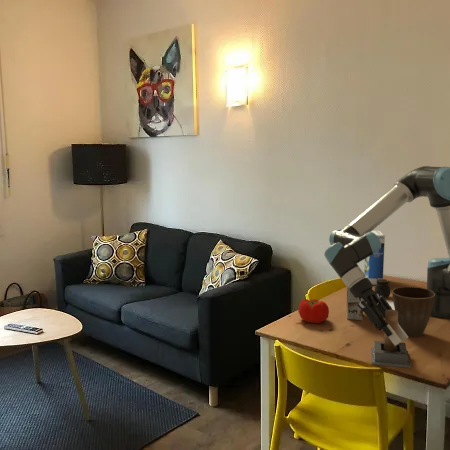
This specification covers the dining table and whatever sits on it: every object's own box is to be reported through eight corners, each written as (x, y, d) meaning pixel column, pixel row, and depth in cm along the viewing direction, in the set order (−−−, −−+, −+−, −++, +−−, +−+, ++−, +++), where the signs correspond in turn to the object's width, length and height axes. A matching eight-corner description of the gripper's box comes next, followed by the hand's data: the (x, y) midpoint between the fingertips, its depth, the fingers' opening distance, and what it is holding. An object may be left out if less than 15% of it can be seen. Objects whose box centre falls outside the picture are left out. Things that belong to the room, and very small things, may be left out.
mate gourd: (392, 299, 227) (393, 277, 226) (376, 299, 227) (376, 278, 226) (387, 294, 234) (388, 273, 233) (371, 294, 234) (372, 274, 233)
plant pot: (411, 343, 176) (412, 300, 173) (382, 330, 189) (383, 289, 187) (442, 336, 182) (444, 294, 179) (412, 323, 195) (413, 284, 193)
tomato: (335, 320, 201) (335, 300, 200) (317, 328, 192) (317, 307, 191) (309, 313, 210) (310, 293, 209) (291, 320, 201) (291, 300, 200)
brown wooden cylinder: (396, 350, 165) (397, 309, 163) (396, 354, 161) (398, 313, 159) (383, 349, 166) (384, 309, 164) (384, 353, 162) (385, 313, 160)
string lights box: (363, 278, 264) (365, 230, 260) (378, 278, 263) (379, 230, 259) (368, 284, 251) (369, 234, 247) (383, 285, 250) (385, 234, 246)
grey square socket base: (407, 352, 168) (408, 342, 168) (410, 368, 157) (411, 356, 156) (370, 349, 171) (371, 339, 171) (371, 364, 160) (371, 353, 159)
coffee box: (363, 320, 200) (364, 281, 198) (346, 319, 202) (347, 281, 199) (361, 312, 209) (362, 275, 207) (346, 312, 210) (346, 275, 208)
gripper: (363, 284, 178) (405, 339, 169) (337, 294, 166) (381, 355, 157) (377, 272, 173) (421, 328, 164) (351, 281, 161) (397, 343, 152)
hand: (401, 341), depth 160 cm, fingers closed on brown wooden cylinder, 4 cm apart
